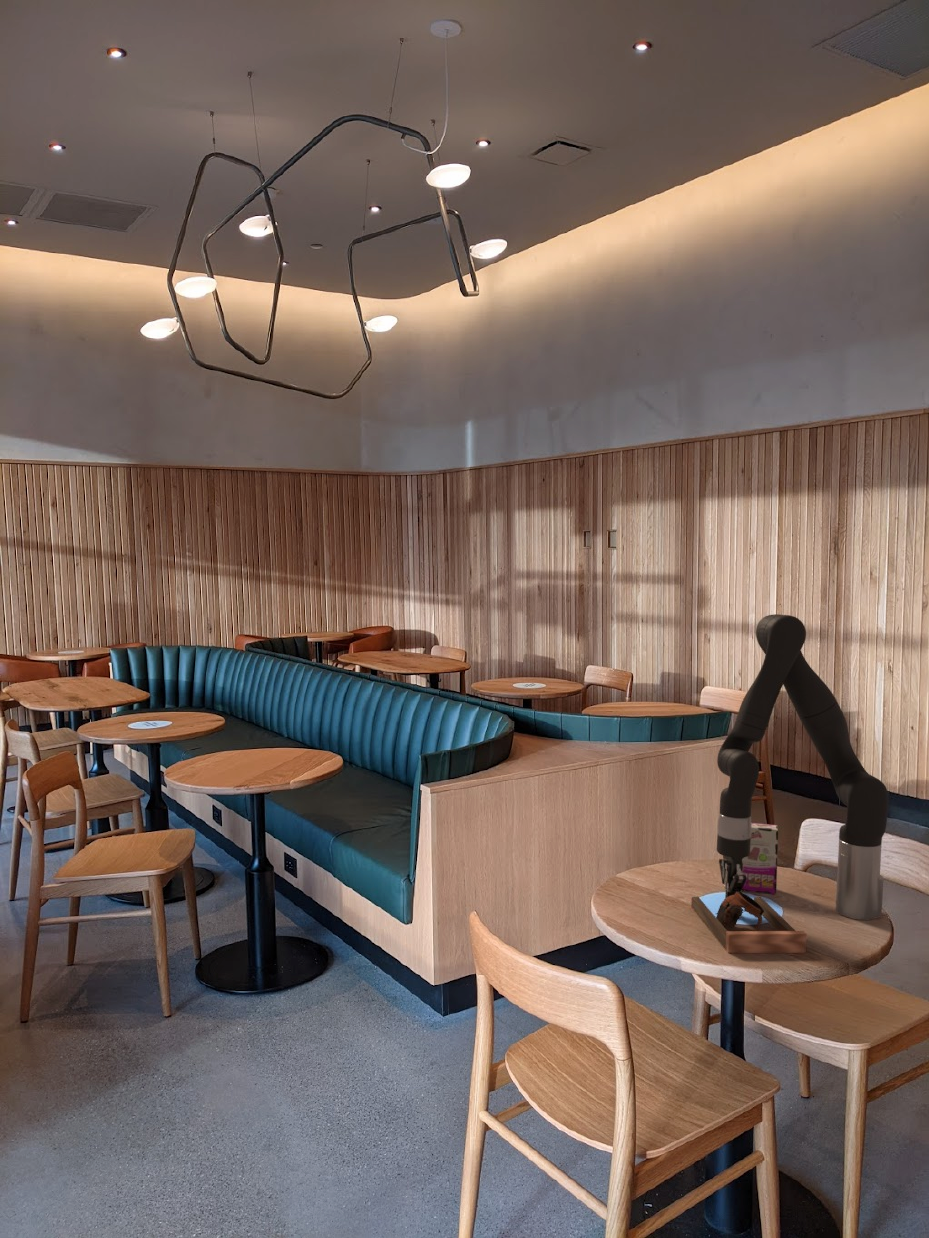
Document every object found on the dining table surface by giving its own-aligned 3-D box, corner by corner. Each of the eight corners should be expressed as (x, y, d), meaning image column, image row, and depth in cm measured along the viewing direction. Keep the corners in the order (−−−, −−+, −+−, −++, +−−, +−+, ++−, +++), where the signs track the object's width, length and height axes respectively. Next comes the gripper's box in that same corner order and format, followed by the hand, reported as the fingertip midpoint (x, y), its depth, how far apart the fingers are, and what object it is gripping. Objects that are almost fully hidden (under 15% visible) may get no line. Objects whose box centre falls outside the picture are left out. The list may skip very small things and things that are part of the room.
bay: (760, 906, 225) (760, 890, 224) (805, 952, 199) (806, 933, 199) (691, 906, 224) (691, 890, 223) (728, 952, 198) (728, 934, 198)
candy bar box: (775, 888, 237) (778, 824, 236) (776, 895, 233) (779, 829, 232) (729, 883, 241) (732, 820, 240) (729, 889, 236) (731, 825, 235)
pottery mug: (718, 914, 220) (737, 886, 219) (752, 942, 215) (772, 912, 214) (704, 918, 210) (724, 888, 209) (740, 947, 205) (761, 916, 204)
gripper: (760, 842, 212) (756, 917, 213) (740, 825, 225) (737, 896, 227) (727, 842, 212) (723, 917, 213) (709, 824, 225) (706, 895, 226)
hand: (730, 906), depth 220 cm, fingers closed
